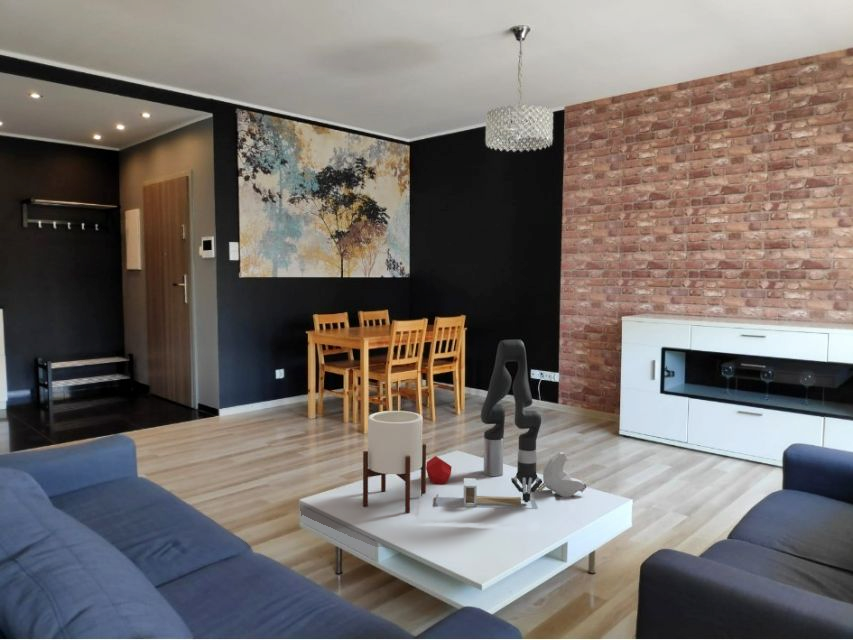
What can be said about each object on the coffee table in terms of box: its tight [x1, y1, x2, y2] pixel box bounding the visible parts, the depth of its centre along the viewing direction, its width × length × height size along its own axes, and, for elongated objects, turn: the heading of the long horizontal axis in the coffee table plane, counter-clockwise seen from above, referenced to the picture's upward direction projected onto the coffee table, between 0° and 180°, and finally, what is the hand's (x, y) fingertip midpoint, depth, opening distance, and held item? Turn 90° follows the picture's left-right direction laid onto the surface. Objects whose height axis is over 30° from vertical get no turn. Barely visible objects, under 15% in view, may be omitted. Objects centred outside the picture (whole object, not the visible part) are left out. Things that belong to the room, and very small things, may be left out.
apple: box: [426, 455, 452, 486], centre depth 274 cm, size 12×12×15 cm
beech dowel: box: [476, 495, 522, 505], centre depth 244 cm, size 2×18×2 cm, turn 87°
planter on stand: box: [362, 410, 427, 514], centre depth 248 cm, size 22×22×36 cm
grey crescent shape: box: [537, 451, 587, 497], centre depth 258 cm, size 7×19×20 cm
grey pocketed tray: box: [434, 477, 539, 510], centre depth 244 cm, size 10×41×10 cm, turn 87°
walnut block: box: [466, 487, 474, 503], centre depth 244 cm, size 4×4×7 cm
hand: (526, 501), depth 243 cm, fingers closed
